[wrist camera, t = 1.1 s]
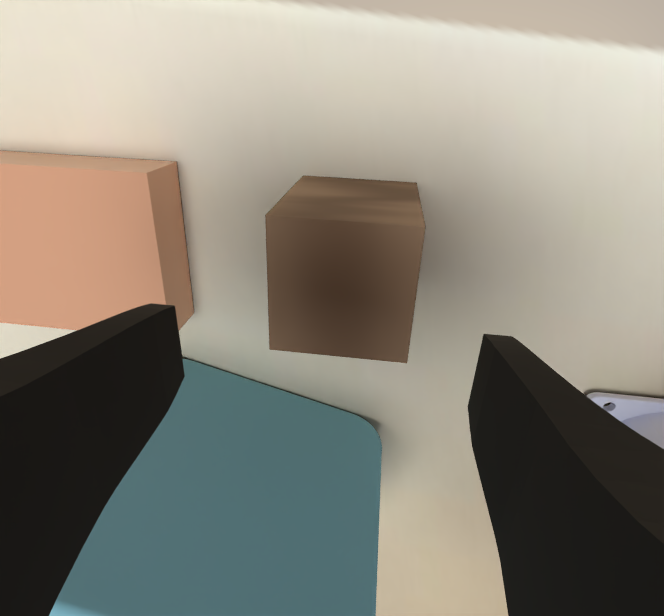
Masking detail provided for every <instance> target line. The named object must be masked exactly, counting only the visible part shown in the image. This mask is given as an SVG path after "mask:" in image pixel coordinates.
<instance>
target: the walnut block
mask: <svg viewBox="0 0 664 616" xmlns="http://www.w3.org/2000/svg"><path fill="white" fill-rule="evenodd" d="M265 217H266V250H267V282H268V315H269V347H270V349H271V350H281V351H291V352H301V353H311V354H321V355H331V356H341V357H351V358H361V359H371V360H381V361H391V362H401V363H407V359H408V352H409V345H410V337H411V330H412V322H413V315H414V308H415V300H416V293H417V285H418V278H419V271H420V263H421V256H422V248H423V241H424V234H425V222H424V217H423V212H422V208H421V203H420V198H419V193H418V188H417V183H413V182H397V181H381V180H365V179H349V178H333V177H317V176H302V177H301V179H300V180H299V181H298V182H297V183H296V184H295V185H294V186H293V187H292V188H291V189H290V190H289V191H288V192H287V193H286V194H285V195H284V196H283V197H282V198H281V199H280V201H279V202H278V203H277V204H276V205H275V206H274V207H273V208H272V209H271V210H270V211H269V212H268V213H267V214H266V215H265Z"/></svg>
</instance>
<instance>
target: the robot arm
mask: <svg viewBox="0 0 664 616" xmlns="http://www.w3.org/2000/svg"><path fill="white" fill-rule="evenodd" d="M184 377H185V374H184V367H183V360H182V353H181V345H180V338H179V331H178V324H177V316H176V309H175V306H174V305H163V304H153V303H150V304H146V305H143V306H139V307H136V308H133V309H130V310H128V311H125V312H122V313H120V314H117V315H115V316H112V317H110V318H107V319H105V320H102V321H100V322H97V323H95V324H92V325H90V326H87V327H85V328H82V329H80V330H77V331H75V332H72V333H70V334H67V335H65V336H62V337H59V338H57V339H54V340H51V341H48V342H46V343H43V344H40V345H38V346H35V347H32V348H30V349H27V350H24V351H21V352H19V353H16V354H13V355H10V356H7V357H4V358H1V359H0V616H49V615H50V612H51V610H52V608H53V606H54V604H55V602H56V600H57V597H58V595H59V593H60V591H61V589H62V587H63V585H64V583H65V581H66V579H67V577H68V576H69V574H70V572H71V570H72V568H73V566H74V564H75V562H76V560H77V558H78V556H79V554H80V552H81V550H82V548H83V546H84V544H85V542H86V540H87V538H88V537H89V535H90V533H91V531H92V529H93V527H94V526H95V524H96V522H97V520H98V518H99V516H100V514H101V513H102V511H103V509H104V507H105V505H106V504H107V502H108V501H109V499H110V497H111V496H112V494H113V492H114V491H115V489H116V488H117V486H118V485H119V483H120V482H121V480H122V479H123V477H124V476H125V474H126V473H127V472H128V470H129V469H130V467H131V466H132V464H133V463H134V461H135V460H136V458H137V457H138V455H139V454H140V452H141V451H142V450H143V448H144V447H145V445H146V444H147V442H148V441H149V439H150V438H151V436H152V435H153V433H154V432H155V430H156V429H157V427H158V426H159V424H160V423H161V421H162V420H163V418H164V417H165V415H166V414H167V412H168V410H169V408H170V406H171V404H172V402H173V400H174V398H175V397H176V394H177V392H178V390H179V388H180V386H181V383H182V381H183V379H184ZM609 402H612V403H611V404H610V405H608V406H604V405H605V404H606V403H609ZM468 413H469V423H470V432H471V440H472V447H473V451H474V455H475V460H476V464H477V468H478V472H479V476H480V480H481V483H482V487H483V491H484V495H485V499H486V503H487V507H488V511H489V515H490V519H491V522H492V526H493V530H494V534H495V538H496V543H497V547H498V552H499V557H500V562H501V568H502V575H503V582H504V588H505V595H506V602H507V608H508V615H509V616H664V399H660V398H650V397H640V396H631V395H621V394H611V393H601V392H593V393H590V394H588V395H587V396H585V395H584V394H583V393H581V392H580V391H579V390H578V389H576V388H575V387H574V386H573V385H571V384H570V383H569V382H568V381H566V380H565V379H564V378H563V377H561V376H560V375H559V374H558V373H557V372H555V371H554V370H553V369H552V368H550V367H549V366H548V365H547V364H546V363H545V362H543V361H542V360H541V359H540V358H539V357H537V356H536V355H535V354H534V353H533V352H531V351H530V350H529V349H528V348H527V347H525V346H524V345H523V344H522V343H520V342H519V341H518V340H516V339H515V338H513V337H511V336H500V335H489V334H484V335H483V340H482V344H481V349H480V354H479V358H478V363H477V367H476V372H475V376H474V381H473V386H472V390H471V395H470V399H469V404H468Z"/></svg>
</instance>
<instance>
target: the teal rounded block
mask: <svg viewBox="0 0 664 616" xmlns="http://www.w3.org/2000/svg"><path fill="white" fill-rule="evenodd" d="M182 360H183V367H184V374H185V377H184V379H183V381H182V383H181V386H180V388H179V390H178V392H177V394H176V397H175V398H174V400H173V402H172V404H171V406H170V408H169V410H168V412H167V414H166V415H165V417H164V418H163V420H162V421H161V423H160V424H159V426H158V427H157V429H156V430H155V432H154V433H153V435H152V436H151V438H150V439H149V441H148V442H147V444H146V445H145V447H144V448H143V450H142V451H141V452H140V454H139V455H138V457H137V458H136V460H135V461H134V463H133V464H132V466H131V467H130V469H129V470H128V472H127V473H126V474H125V476H124V477H123V479H122V480H121V482H120V483H119V485H118V486H117V488H116V489H115V491H114V492H113V494H112V496H111V497H110V499H109V501H108V502H107V504H106V505H105V507H104V509H103V511H102V513H101V514H100V516H99V518H98V520H97V522H96V524H95V526H94V527H93V529H92V531H91V533H90V535H89V537H88V538H87V540H86V542H85V544H84V546H83V548H82V550H81V552H80V554H79V556H78V558H77V560H76V562H75V564H74V566H73V568H72V570H71V572H70V574H69V576H68V577H67V579H66V581H65V583H64V585H63V587H62V589H61V591H60V593H59V595H58V597H57V600H56V602H55V604H54V606H53V608H52V610H51V612H50V615H49V616H375V614H376V587H377V561H378V534H379V508H380V481H381V454H382V444H381V440H380V437H379V435H378V433H377V431H376V430H375V429H374V427H373V426H372V425H371V424H370V423H368V422H367V421H366V420H364V419H363V418H361V417H359V416H357V415H355V414H352V413H349V412H346V411H343V410H340V409H337V408H334V407H331V406H328V405H325V404H322V403H319V402H316V401H313V400H310V399H307V398H304V397H301V396H298V395H295V394H292V393H289V392H286V391H283V390H279V389H276V388H273V387H270V386H267V385H264V384H261V383H258V382H255V381H252V380H249V379H246V378H243V377H240V376H237V375H234V374H231V373H228V372H225V371H222V370H219V369H216V368H213V367H210V366H207V365H204V364H201V363H198V362H195V361H192V360H188V359H182Z"/></svg>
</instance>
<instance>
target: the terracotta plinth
mask: <svg viewBox="0 0 664 616" xmlns="http://www.w3.org/2000/svg"><path fill="white" fill-rule="evenodd" d="M150 303H153V304H163V305H174V306H175V309H176V316H177V324H178V331H179V330H180V329H181V328H182V326H183V325H184V324H185V323H186V322H187V321H188V319H189V318H190V317H191V316H192V315H193V314H194V308H193V300H192V291H191V282H190V274H189V265H188V256H187V248H186V239H185V230H184V222H183V213H182V205H181V196H180V187H179V179H178V170H177V162H175V161H159V160H142V159H126V158H110V157H94V156H77V155H61V154H45V153H29V152H13V151H0V322H1V323H11V324H21V325H31V326H41V327H51V328H61V329H71V330H80V329H82V328H85V327H87V326H90V325H92V324H95V323H97V322H100V321H102V320H105V319H107V318H110V317H112V316H115V315H117V314H120V313H122V312H125V311H128V310H130V309H133V308H136V307H139V306H143V305H146V304H150Z"/></svg>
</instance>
